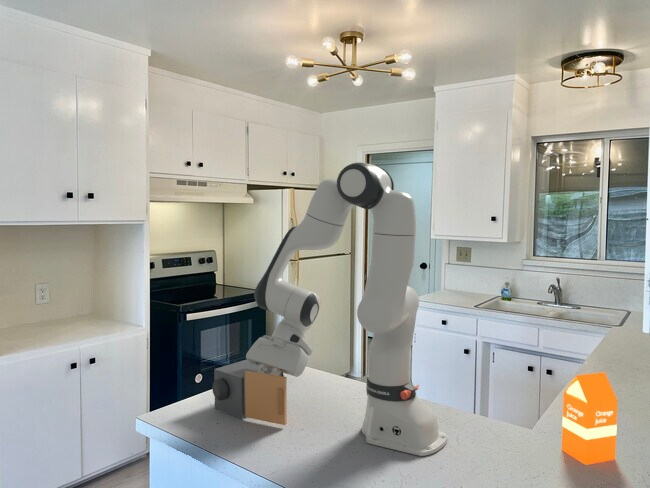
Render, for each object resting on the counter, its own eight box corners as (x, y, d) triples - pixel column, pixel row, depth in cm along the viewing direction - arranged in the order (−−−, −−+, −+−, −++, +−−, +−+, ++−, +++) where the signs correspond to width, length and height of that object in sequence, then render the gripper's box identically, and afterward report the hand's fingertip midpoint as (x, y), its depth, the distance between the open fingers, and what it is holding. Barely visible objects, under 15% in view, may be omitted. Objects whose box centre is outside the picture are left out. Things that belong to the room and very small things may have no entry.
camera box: (282, 402, 152) (282, 364, 151) (238, 421, 139) (237, 379, 138) (254, 393, 160) (254, 356, 159) (210, 410, 146) (209, 370, 146)
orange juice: (615, 459, 118) (619, 377, 116) (585, 465, 115) (588, 380, 114) (589, 445, 125) (592, 367, 124) (560, 449, 123) (563, 370, 121)
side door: (283, 426, 133) (283, 379, 132) (240, 417, 139) (240, 372, 138) (287, 423, 135) (287, 376, 135) (245, 414, 141) (245, 369, 140)
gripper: (256, 328, 150) (231, 368, 143) (306, 340, 137) (282, 384, 130) (267, 339, 154) (243, 379, 147) (317, 352, 141) (294, 395, 134)
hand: (262, 382), depth 139 cm, fingers closed
